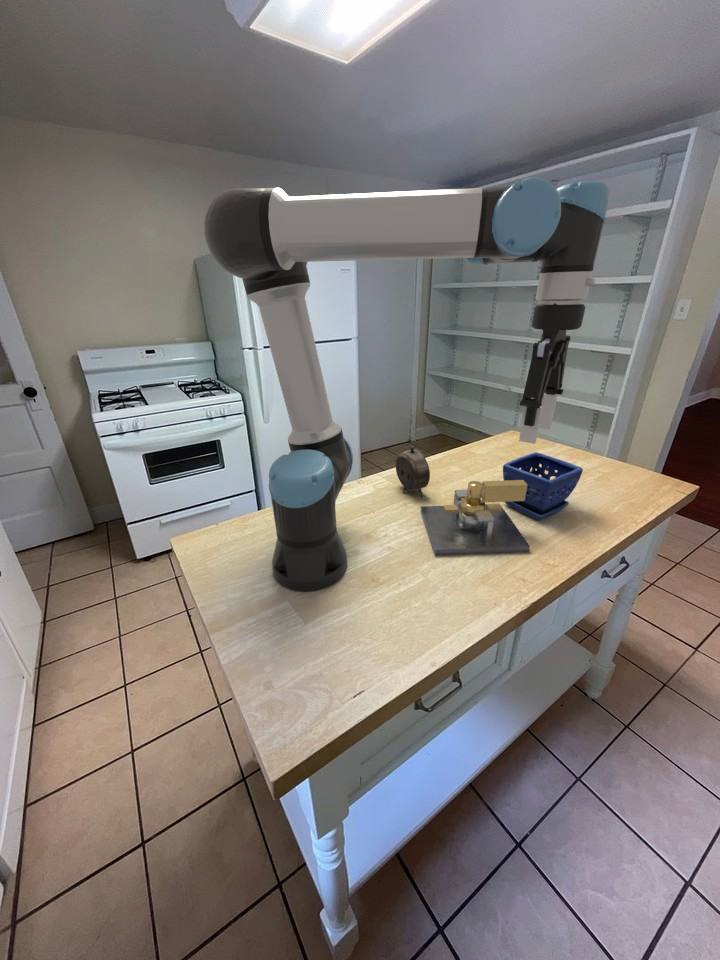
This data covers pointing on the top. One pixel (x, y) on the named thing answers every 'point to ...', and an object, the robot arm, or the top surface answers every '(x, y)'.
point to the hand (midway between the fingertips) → (535, 434)
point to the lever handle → (489, 496)
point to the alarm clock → (412, 469)
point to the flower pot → (542, 483)
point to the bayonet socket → (471, 531)
